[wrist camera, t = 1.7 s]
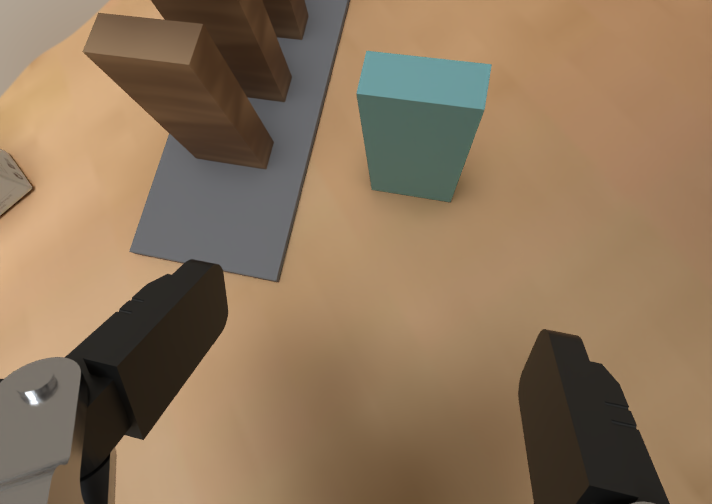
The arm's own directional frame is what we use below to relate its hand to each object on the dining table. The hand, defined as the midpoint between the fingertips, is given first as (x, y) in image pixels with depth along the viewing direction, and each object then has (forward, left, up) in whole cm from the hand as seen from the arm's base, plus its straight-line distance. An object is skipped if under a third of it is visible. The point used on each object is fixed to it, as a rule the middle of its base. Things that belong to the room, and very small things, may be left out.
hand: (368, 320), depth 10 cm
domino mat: (0, -19, -14) cm, 24 cm away
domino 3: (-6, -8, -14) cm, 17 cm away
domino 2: (0, -19, -13) cm, 23 cm away
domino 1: (+3, -15, -13) cm, 20 cm away
